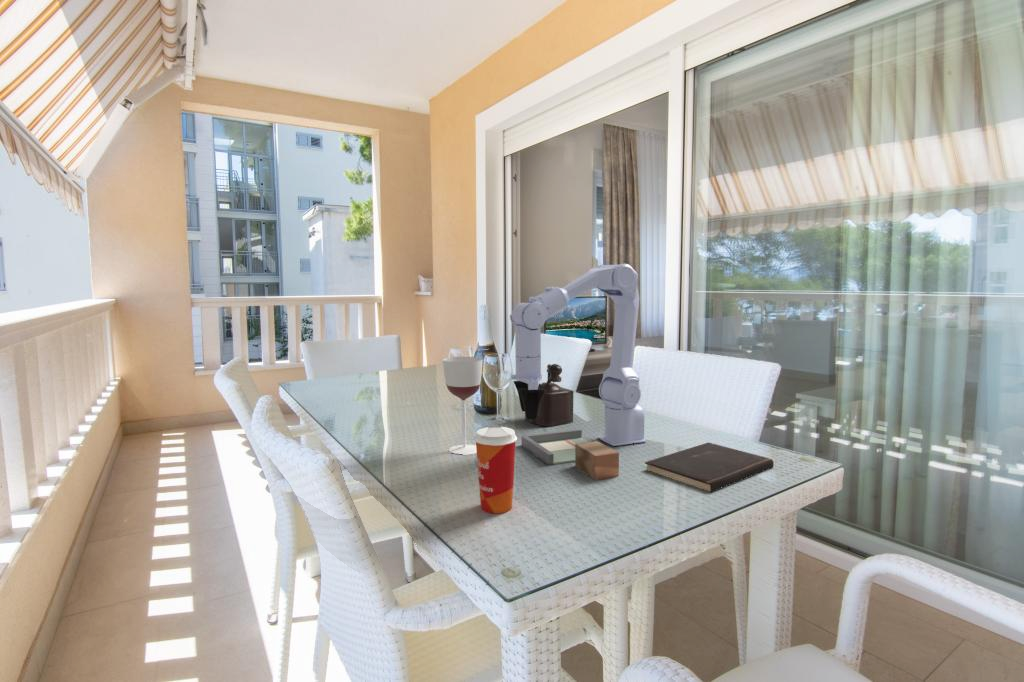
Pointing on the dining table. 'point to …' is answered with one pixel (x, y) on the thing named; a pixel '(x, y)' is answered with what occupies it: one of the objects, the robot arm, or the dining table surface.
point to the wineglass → (463, 389)
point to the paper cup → (496, 468)
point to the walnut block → (597, 460)
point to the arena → (554, 445)
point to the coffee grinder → (554, 401)
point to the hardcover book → (709, 466)
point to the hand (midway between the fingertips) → (528, 414)
